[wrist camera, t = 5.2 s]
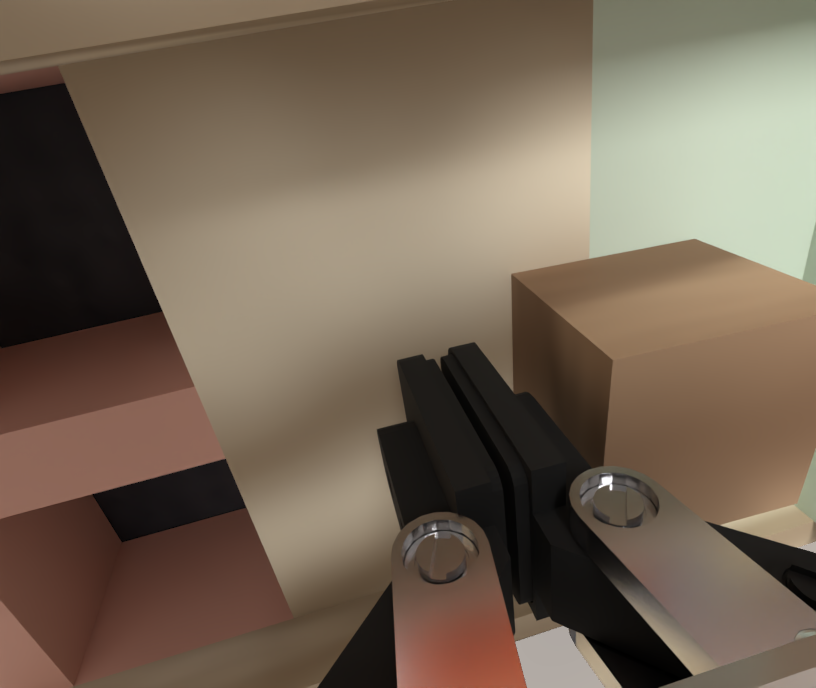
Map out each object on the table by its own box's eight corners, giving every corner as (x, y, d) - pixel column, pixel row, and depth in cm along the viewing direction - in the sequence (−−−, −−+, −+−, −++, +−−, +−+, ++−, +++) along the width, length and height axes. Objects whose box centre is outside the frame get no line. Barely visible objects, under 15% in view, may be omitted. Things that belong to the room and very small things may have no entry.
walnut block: (510, 273, 11) (613, 359, 8) (694, 238, 12) (864, 304, 8) (514, 435, 13) (595, 559, 10) (669, 398, 14) (797, 503, 11)
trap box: (-278, 84, 11) (-1718, 94, 3) (734, -76, 14) (1334, -279, 6) (75, 577, 18) (-70, 940, 11) (676, 406, 21) (906, 592, 14)
